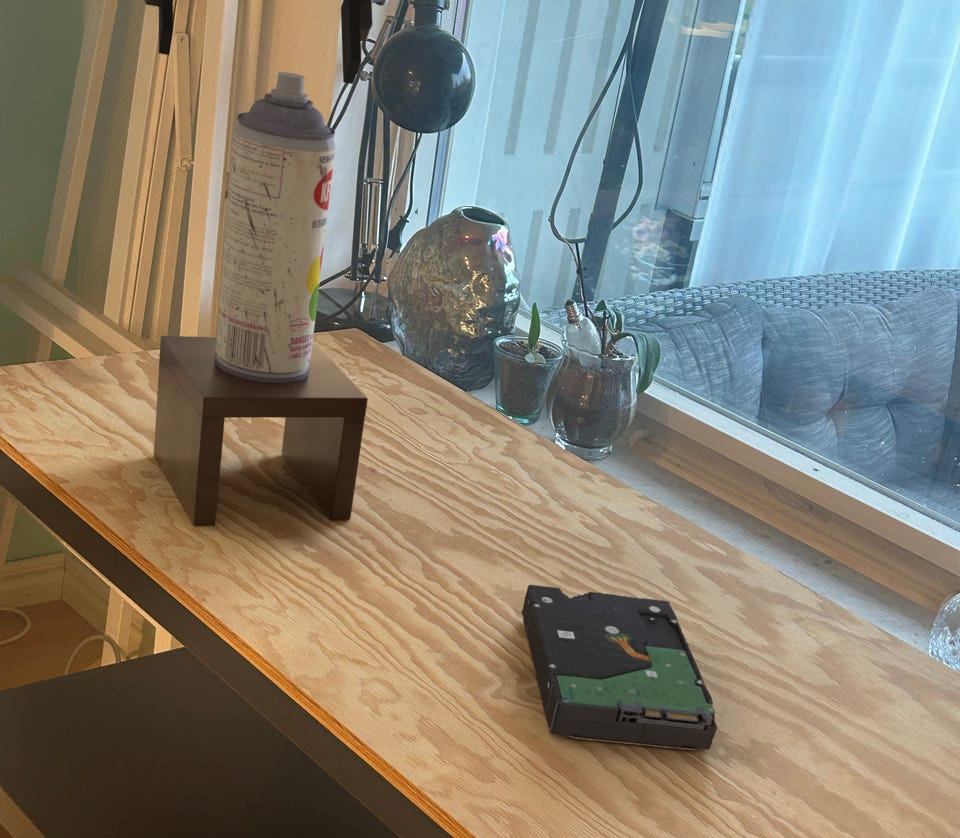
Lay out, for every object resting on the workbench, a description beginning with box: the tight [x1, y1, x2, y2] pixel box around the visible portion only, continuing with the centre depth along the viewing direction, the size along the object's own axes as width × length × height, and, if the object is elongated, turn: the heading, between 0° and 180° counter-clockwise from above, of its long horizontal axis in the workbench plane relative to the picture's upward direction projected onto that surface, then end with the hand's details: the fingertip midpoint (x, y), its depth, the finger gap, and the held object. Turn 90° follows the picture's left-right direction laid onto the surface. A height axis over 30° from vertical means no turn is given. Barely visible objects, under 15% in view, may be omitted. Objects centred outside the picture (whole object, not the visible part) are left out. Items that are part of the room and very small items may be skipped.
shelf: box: [153, 335, 369, 527], centre depth 99 cm, size 12×12×10 cm
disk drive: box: [521, 584, 718, 751], centre depth 86 cm, size 10×3×15 cm
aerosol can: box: [215, 71, 337, 383], centre depth 92 cm, size 7×7×20 cm
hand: (261, 58), depth 97 cm, fingers open, 13 cm apart
